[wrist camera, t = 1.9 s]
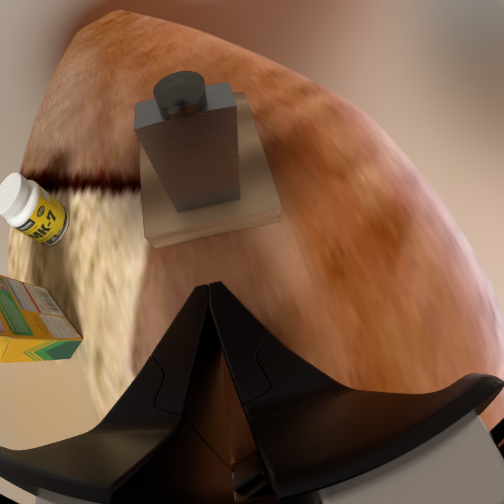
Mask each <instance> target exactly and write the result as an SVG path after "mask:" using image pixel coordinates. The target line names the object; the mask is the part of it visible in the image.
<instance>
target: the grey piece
mask: <svg viewBox="0 0 504 504" xmlns="http://www.w3.org/2000/svg"><path fill="white" fill-rule="evenodd" d="M153 93H154V96H155V98H153V99H150V100H146V101H143V102H140V103H136V104H135V120H134V130H135V132H136V134H137V136H138V138H139V140H140V142H141V144H142V146H143V148H144V150H145V152H146V154H147V156H148V158H149V160H150V162H151V164H152V166H153V168H154V169H155V171H156V173H157V175H158V177H159V179H160V181H161V183H162V185H163V186H164V188H165V190H166V192H167V194H168V196H169V198H170V199H171V201H172V203H173V205H174V207H175V209H176V210H177V212H178V213H180V212H184V211H189V210H193V209H197V208H202V207H206V206H211V205H215V204H220V203H224V202H229V201H234V200H239V199H241V198H240V175H239V152H238V128H237V105H236V102H235V99H234V96H233V93H232V89H231V86H230V83H229V82H226V83H220V84H214V85H209V86H205V83H204V78H203V77H202V76H201V75H200V74H198V73H196V72H192V71H182V72H176V73H173V74H170V75H168V76H166V77H164V78H163V79H161V80H160V81H159V82H158V83H157V84H156V86H155V88H154V91H153Z"/></svg>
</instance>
